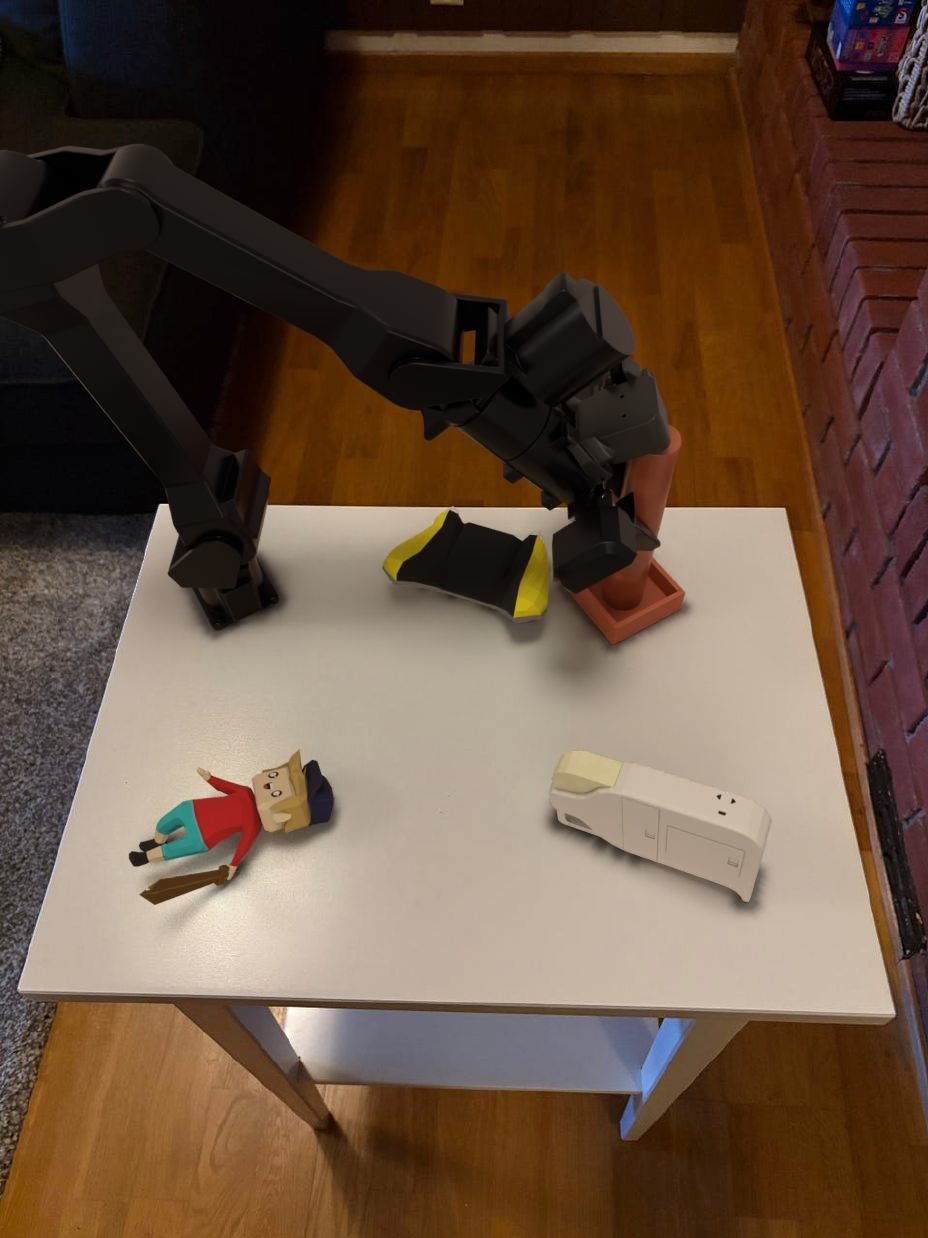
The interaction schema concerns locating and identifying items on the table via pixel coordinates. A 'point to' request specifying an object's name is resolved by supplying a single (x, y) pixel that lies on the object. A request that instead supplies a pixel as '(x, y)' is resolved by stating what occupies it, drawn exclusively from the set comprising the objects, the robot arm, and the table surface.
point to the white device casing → (663, 817)
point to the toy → (235, 821)
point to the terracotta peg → (643, 519)
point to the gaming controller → (475, 566)
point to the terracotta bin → (620, 624)
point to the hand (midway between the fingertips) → (653, 528)
